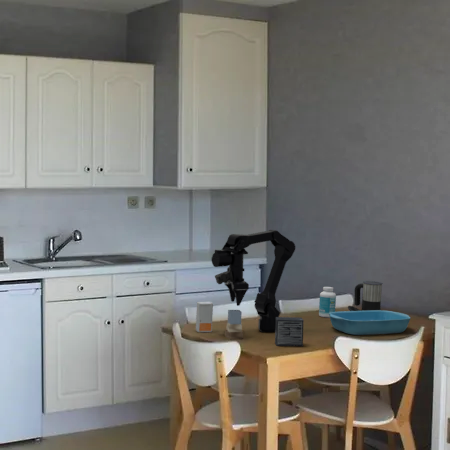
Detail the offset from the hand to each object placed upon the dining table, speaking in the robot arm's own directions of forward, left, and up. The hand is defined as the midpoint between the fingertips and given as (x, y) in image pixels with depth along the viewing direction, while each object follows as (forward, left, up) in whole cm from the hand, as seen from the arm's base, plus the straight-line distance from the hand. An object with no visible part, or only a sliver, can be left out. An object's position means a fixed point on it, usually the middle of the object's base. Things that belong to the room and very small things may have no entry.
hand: (235, 303), depth 362 cm
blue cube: (+1, +6, -7) cm, 9 cm away
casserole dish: (-60, -6, -13) cm, 62 cm away
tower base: (+1, +6, -13) cm, 14 cm away
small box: (-18, +19, -13) cm, 29 cm away
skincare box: (+11, -7, -13) cm, 18 cm away
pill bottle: (-52, -38, -13) cm, 65 cm away
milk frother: (-72, -44, -13) cm, 86 cm away
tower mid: (+1, +6, -10) cm, 12 cm away
